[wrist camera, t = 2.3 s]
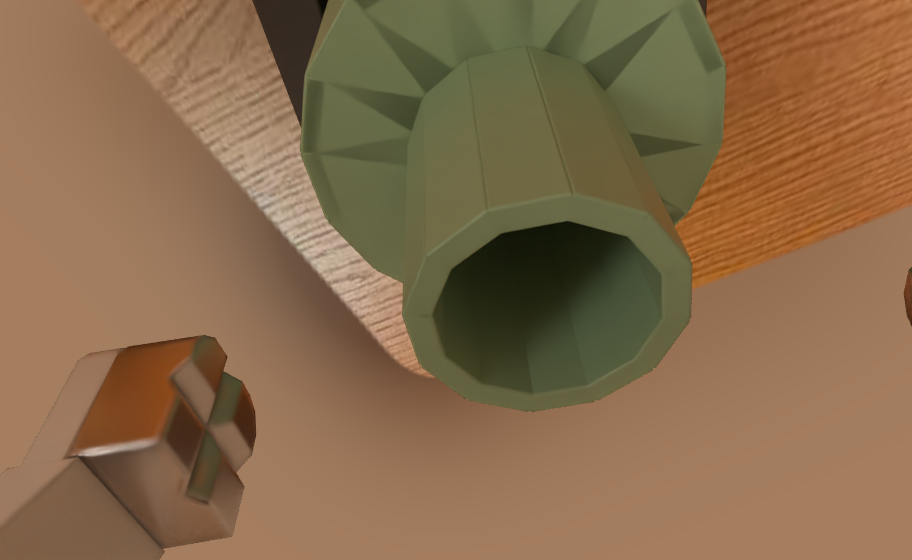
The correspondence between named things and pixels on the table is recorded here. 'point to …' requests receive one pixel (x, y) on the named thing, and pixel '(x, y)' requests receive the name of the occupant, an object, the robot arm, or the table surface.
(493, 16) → the bottle
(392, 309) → the table surface
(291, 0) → the box
